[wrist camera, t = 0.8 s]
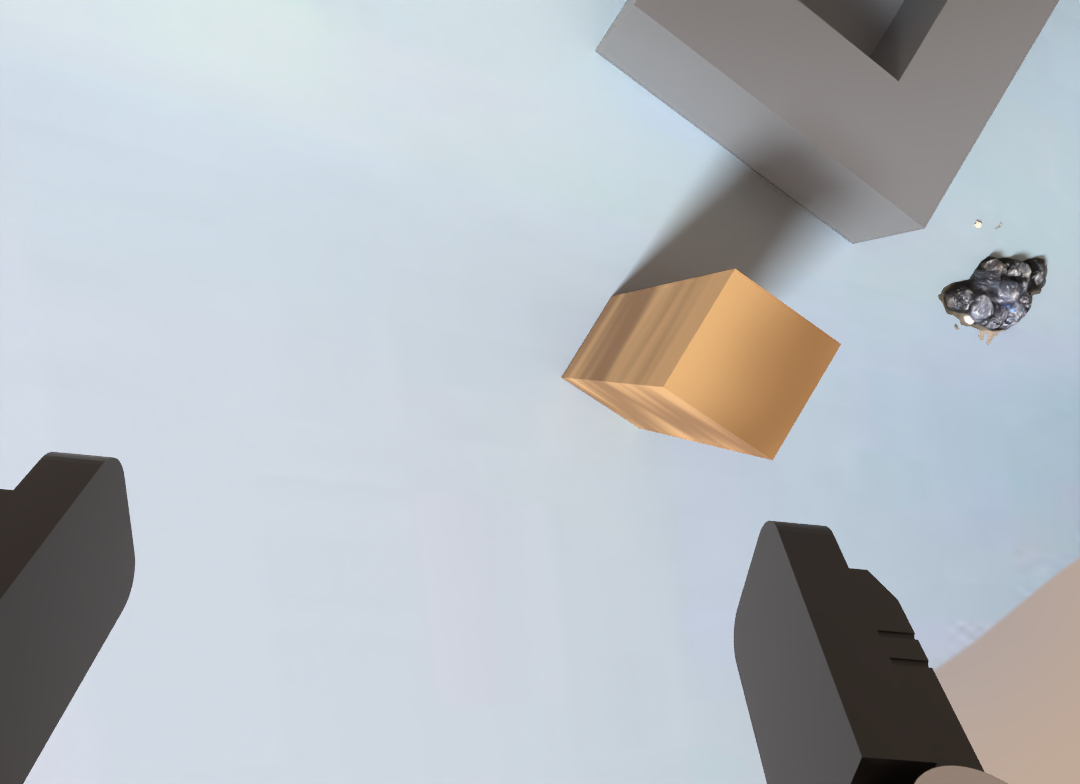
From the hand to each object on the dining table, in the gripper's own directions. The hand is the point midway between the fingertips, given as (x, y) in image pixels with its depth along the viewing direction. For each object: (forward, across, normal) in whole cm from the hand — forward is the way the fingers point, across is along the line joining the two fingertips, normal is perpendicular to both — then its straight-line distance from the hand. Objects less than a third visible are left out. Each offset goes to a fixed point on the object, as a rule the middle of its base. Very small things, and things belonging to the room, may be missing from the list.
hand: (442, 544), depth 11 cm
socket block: (+33, -13, -4) cm, 35 cm away
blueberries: (+30, -23, +6) cm, 38 cm away
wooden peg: (+24, -6, +9) cm, 27 cm away
